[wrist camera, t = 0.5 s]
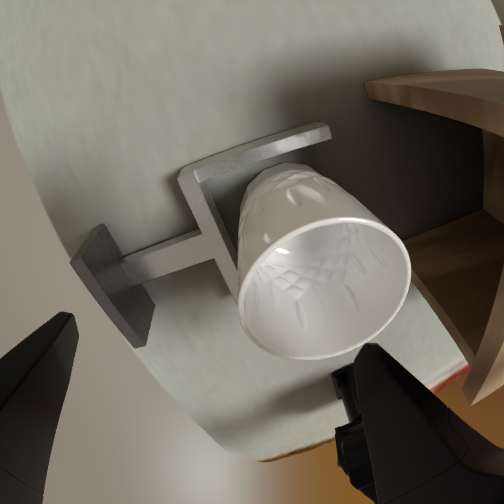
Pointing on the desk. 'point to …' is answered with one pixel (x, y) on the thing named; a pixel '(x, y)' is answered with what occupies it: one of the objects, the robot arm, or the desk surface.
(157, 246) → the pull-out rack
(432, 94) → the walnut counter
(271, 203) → the white cup
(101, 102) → the desk surface
